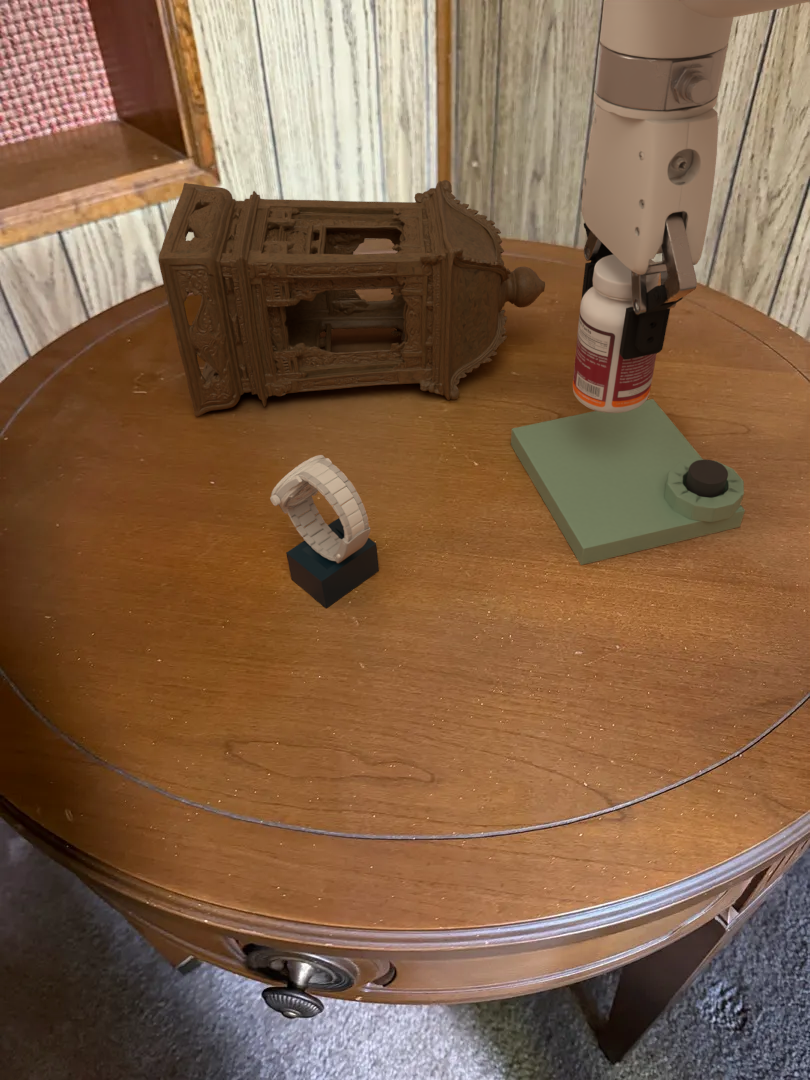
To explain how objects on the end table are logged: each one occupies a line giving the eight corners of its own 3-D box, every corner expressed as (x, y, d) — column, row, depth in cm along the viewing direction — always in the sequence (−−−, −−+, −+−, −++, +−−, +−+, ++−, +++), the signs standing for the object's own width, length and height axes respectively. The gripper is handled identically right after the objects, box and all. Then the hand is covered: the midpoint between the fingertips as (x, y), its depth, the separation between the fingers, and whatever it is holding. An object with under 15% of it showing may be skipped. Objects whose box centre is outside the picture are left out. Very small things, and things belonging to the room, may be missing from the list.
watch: (329, 532, 71) (312, 428, 64) (393, 582, 67) (385, 476, 59) (275, 567, 69) (252, 463, 61) (340, 621, 64) (323, 516, 57)
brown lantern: (527, 337, 96) (539, 164, 84) (553, 415, 82) (571, 218, 70) (216, 348, 95) (187, 175, 84) (188, 427, 81) (148, 232, 70)
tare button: (731, 493, 68) (735, 479, 67) (697, 501, 67) (700, 487, 66) (711, 470, 70) (715, 455, 69) (678, 478, 69) (682, 463, 68)
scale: (748, 529, 69) (758, 497, 67) (583, 569, 67) (587, 538, 65) (654, 414, 81) (660, 383, 78) (510, 444, 78) (512, 414, 76)
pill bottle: (648, 374, 71) (671, 249, 63) (649, 419, 67) (674, 291, 59) (572, 369, 72) (586, 246, 64) (569, 413, 68) (582, 287, 60)
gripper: (793, 111, 47) (722, 383, 60) (649, 29, 59) (615, 270, 72) (669, 131, 46) (623, 403, 59) (547, 43, 58) (532, 285, 70)
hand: (619, 328), depth 65 cm, fingers closed on pill bottle, 6 cm apart
